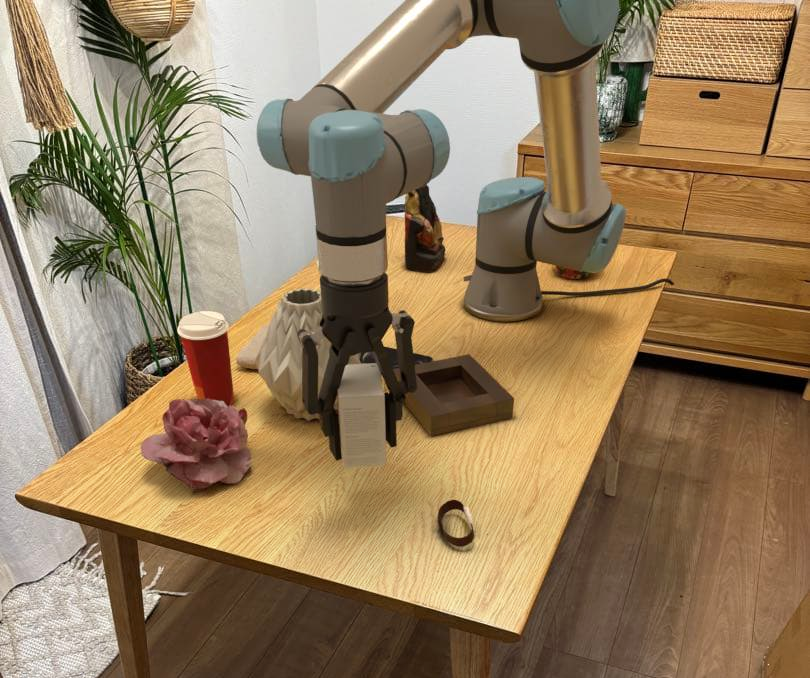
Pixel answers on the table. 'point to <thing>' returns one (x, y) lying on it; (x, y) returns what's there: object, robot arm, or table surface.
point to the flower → (201, 442)
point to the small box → (362, 416)
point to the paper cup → (208, 355)
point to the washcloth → (252, 349)
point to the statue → (422, 232)
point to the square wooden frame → (456, 395)
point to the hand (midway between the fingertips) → (363, 447)
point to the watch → (459, 506)
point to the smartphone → (393, 358)
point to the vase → (293, 350)
